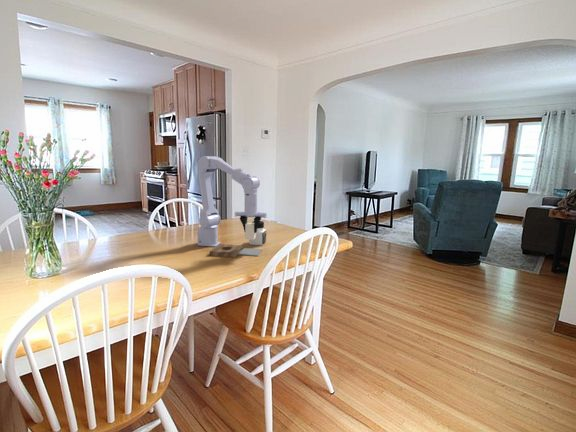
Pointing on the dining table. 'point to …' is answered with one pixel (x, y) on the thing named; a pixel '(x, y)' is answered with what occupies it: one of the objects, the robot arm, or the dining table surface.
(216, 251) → the pocket block
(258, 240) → the white bottle
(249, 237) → the peg
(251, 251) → the mat
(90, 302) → the dining table surface
